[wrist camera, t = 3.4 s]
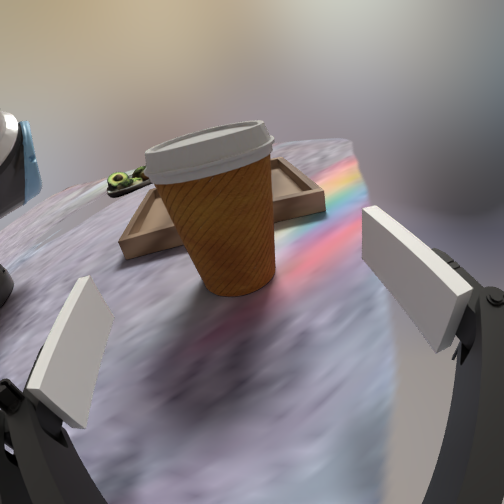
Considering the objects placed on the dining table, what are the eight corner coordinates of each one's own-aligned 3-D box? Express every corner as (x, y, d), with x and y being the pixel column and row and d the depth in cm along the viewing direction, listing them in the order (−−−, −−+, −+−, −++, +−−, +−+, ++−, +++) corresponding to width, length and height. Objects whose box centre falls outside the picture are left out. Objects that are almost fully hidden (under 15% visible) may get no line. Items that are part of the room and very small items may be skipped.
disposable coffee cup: (314, 255, 24) (296, 115, 18) (248, 328, 19) (197, 148, 12) (233, 237, 30) (206, 126, 24) (166, 289, 24) (116, 160, 18)
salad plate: (167, 166, 79) (163, 152, 77) (184, 172, 65) (179, 155, 63) (107, 190, 72) (102, 176, 70) (110, 203, 58) (103, 184, 56)
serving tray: (126, 259, 31) (118, 241, 30) (153, 202, 48) (149, 189, 47) (325, 210, 32) (323, 190, 30) (283, 169, 49) (281, 156, 47)
